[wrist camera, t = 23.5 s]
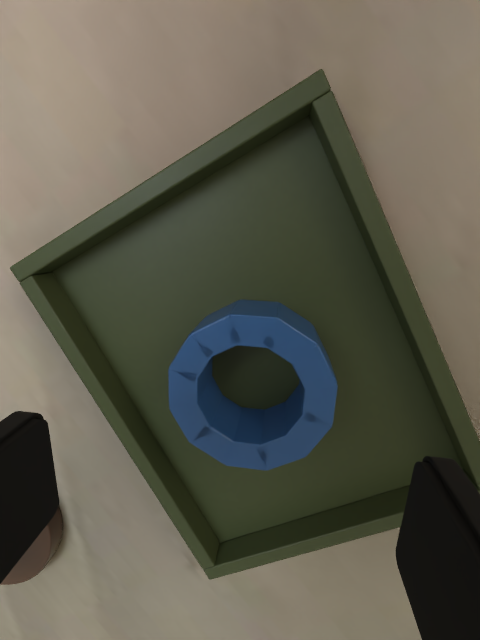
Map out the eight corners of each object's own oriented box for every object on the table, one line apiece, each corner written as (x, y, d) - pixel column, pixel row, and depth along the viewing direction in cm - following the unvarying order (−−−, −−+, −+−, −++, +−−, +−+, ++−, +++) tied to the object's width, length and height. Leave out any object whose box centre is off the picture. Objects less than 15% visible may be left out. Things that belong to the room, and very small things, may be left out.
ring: (163, 337, 17) (138, 358, 14) (288, 274, 15) (289, 284, 12) (227, 448, 18) (216, 488, 15) (350, 401, 16) (364, 437, 14)
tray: (40, 263, 17) (8, 267, 15) (317, 91, 14) (322, 66, 12) (216, 546, 21) (209, 580, 19) (478, 467, 17) (504, 499, 15)
